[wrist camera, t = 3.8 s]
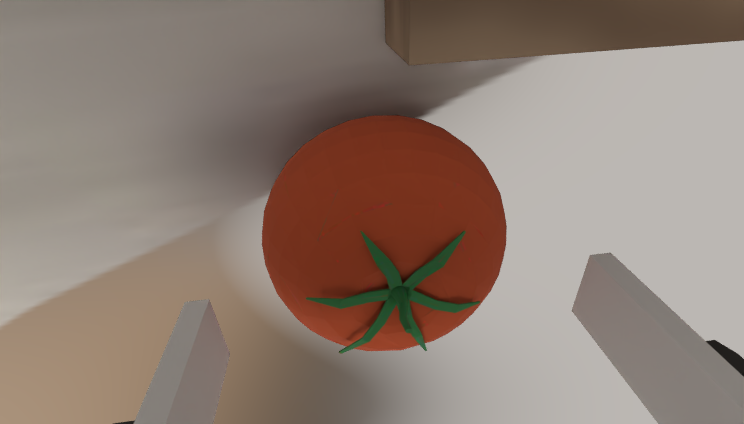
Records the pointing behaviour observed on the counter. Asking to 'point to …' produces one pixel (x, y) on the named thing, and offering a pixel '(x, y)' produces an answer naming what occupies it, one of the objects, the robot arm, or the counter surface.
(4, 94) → the counter surface
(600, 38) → the walnut box
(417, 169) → the tomato
